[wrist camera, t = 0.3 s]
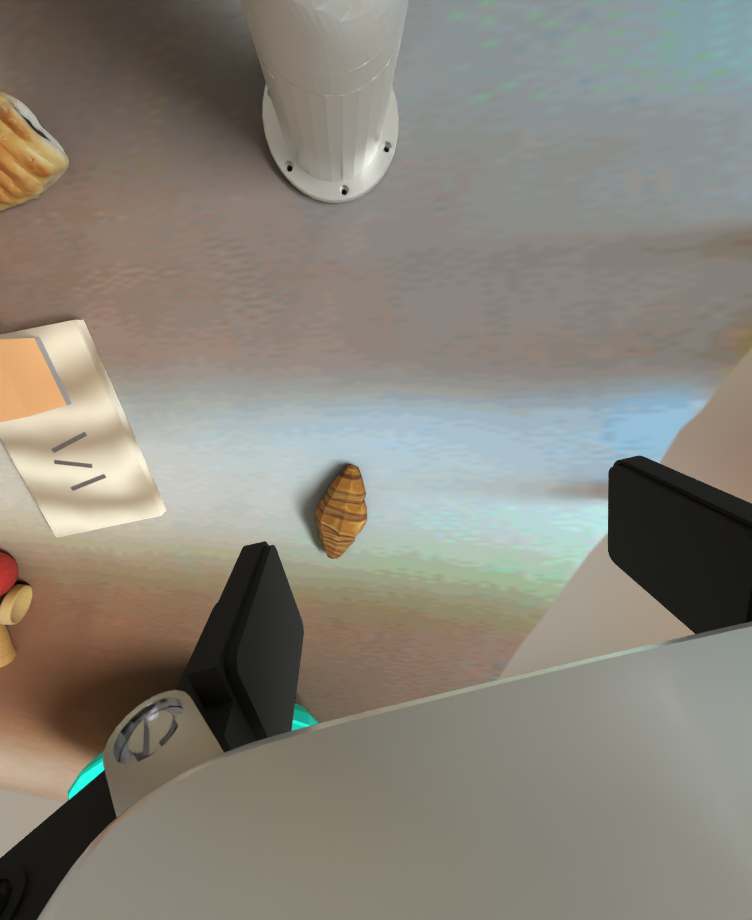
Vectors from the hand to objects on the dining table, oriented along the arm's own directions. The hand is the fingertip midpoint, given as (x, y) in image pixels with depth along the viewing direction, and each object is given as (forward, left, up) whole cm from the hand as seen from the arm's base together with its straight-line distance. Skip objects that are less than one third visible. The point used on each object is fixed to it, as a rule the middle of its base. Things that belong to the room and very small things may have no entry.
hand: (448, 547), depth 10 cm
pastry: (-26, -28, -37) cm, 53 cm away
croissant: (+16, -7, -37) cm, 41 cm away
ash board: (0, -35, -36) cm, 50 cm away
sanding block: (-7, -35, -35) cm, 50 cm away
